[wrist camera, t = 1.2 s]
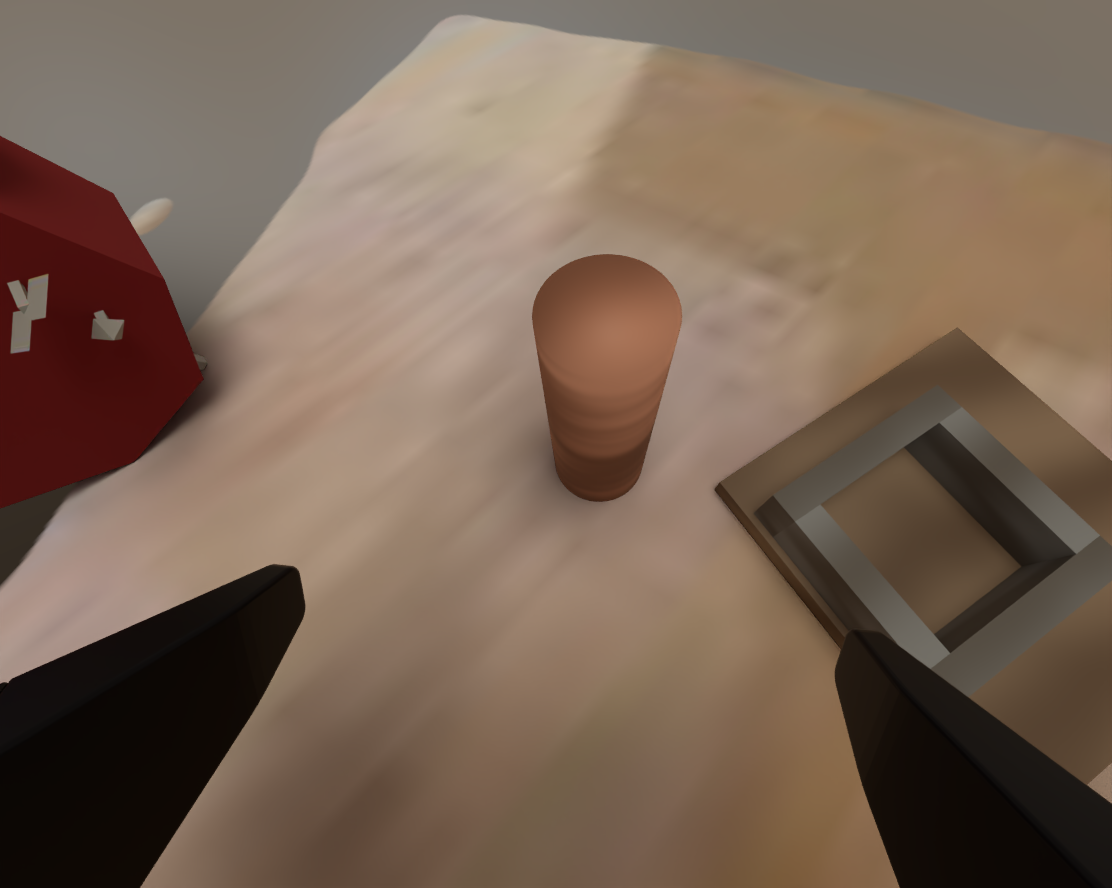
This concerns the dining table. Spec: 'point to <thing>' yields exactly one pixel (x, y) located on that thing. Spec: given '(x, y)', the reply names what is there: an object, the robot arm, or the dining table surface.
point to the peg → (604, 367)
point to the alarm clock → (79, 332)
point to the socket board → (955, 540)
